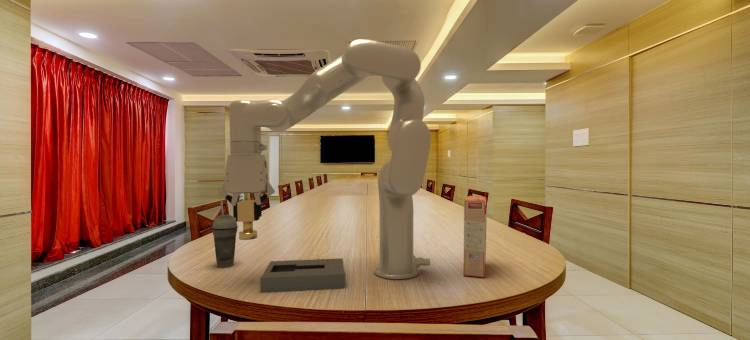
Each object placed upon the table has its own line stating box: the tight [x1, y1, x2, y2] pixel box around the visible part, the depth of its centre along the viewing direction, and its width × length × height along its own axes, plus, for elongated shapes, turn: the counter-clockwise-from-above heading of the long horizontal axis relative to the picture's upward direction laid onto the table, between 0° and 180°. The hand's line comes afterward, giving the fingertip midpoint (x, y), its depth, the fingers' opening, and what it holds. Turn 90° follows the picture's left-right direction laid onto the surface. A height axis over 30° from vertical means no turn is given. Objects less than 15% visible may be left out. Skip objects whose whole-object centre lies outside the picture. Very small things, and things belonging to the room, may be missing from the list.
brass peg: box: [237, 199, 258, 241], centre depth 86 cm, size 4×4×10 cm
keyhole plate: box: [259, 258, 346, 293], centre depth 88 cm, size 20×14×4 cm
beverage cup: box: [211, 199, 239, 269], centre depth 101 cm, size 7×7×20 cm
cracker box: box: [463, 195, 487, 279], centre depth 96 cm, size 14×6×21 cm, turn 161°
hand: (247, 219), depth 86 cm, fingers closed on brass peg, 4 cm apart
